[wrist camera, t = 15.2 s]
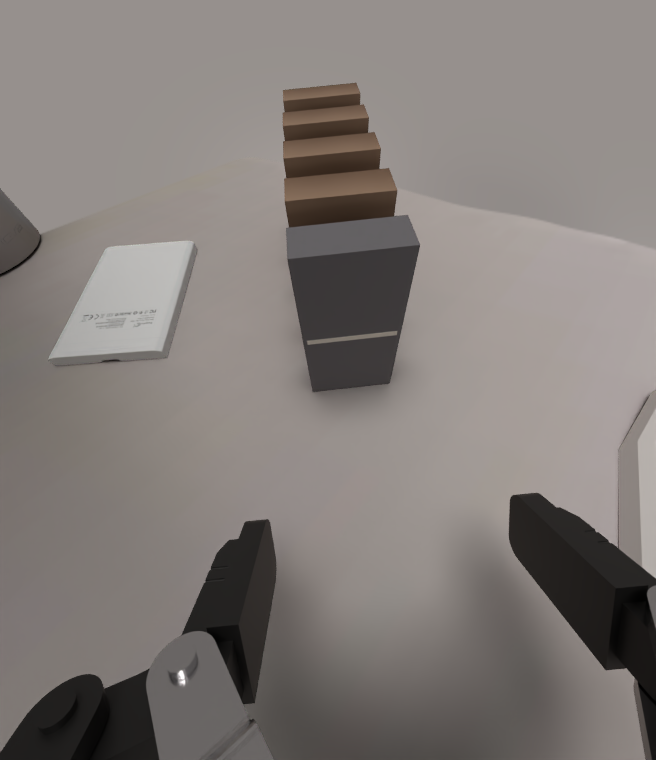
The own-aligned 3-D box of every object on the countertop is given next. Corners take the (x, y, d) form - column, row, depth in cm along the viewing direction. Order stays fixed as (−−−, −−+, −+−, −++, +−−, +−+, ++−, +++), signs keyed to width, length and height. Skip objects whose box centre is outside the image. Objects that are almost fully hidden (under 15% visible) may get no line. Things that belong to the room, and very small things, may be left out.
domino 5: (389, 383, 20) (420, 245, 12) (312, 392, 20) (287, 259, 12) (383, 358, 21) (407, 214, 13) (310, 366, 21) (286, 227, 13)
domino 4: (378, 336, 22) (397, 190, 14) (308, 343, 22) (284, 201, 14) (373, 315, 23) (388, 168, 15) (307, 322, 23) (284, 178, 15)
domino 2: (361, 263, 27) (368, 117, 18) (303, 269, 27) (282, 126, 18) (358, 248, 28) (363, 104, 19) (302, 254, 28) (282, 112, 19)
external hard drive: (200, 255, 29) (171, 362, 23) (114, 262, 30) (61, 370, 23) (193, 239, 28) (159, 348, 21) (103, 246, 28) (42, 357, 22)
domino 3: (369, 296, 24) (380, 149, 16) (305, 302, 24) (283, 158, 16) (365, 279, 26) (374, 131, 17) (304, 285, 26) (283, 141, 17)
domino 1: (356, 235, 29) (360, 93, 20) (302, 241, 29) (283, 101, 20) (353, 222, 30) (356, 82, 21) (301, 228, 30) (283, 90, 21)
